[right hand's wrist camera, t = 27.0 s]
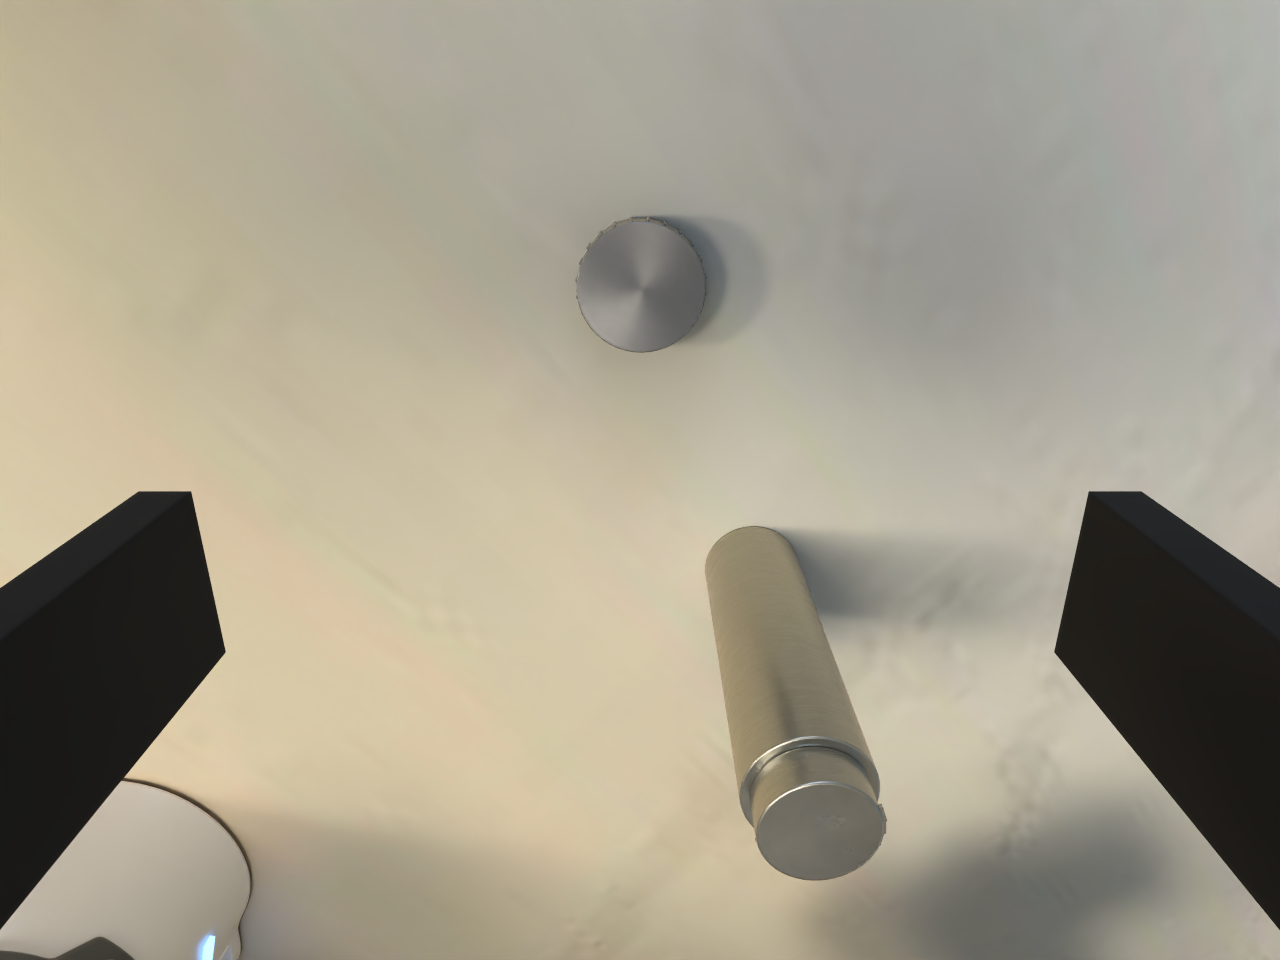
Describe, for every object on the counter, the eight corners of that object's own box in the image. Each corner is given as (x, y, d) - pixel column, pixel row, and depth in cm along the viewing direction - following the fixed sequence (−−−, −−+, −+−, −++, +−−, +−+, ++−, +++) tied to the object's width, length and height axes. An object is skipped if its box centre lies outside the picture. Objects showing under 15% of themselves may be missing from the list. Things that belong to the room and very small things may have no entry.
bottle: (720, 618, 47) (768, 903, 30) (693, 542, 45) (727, 797, 28) (807, 592, 47) (909, 868, 29) (783, 514, 45) (876, 757, 27)
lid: (718, 234, 39) (722, 238, 38) (685, 356, 42) (688, 366, 40) (593, 202, 39) (590, 205, 37) (566, 328, 41) (563, 337, 39)
